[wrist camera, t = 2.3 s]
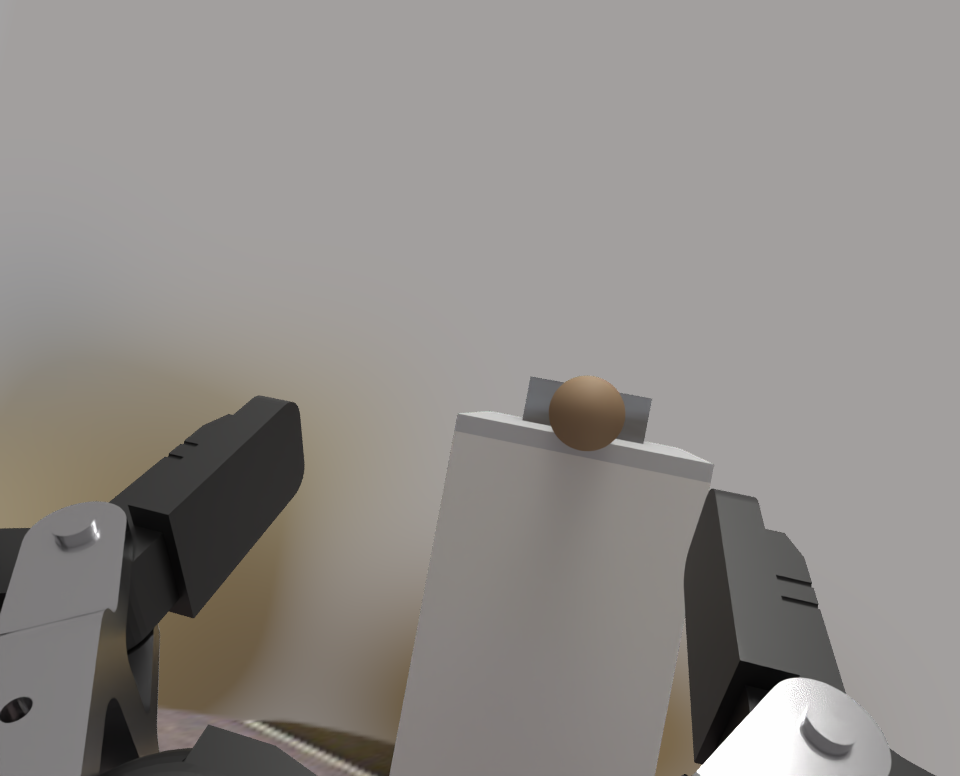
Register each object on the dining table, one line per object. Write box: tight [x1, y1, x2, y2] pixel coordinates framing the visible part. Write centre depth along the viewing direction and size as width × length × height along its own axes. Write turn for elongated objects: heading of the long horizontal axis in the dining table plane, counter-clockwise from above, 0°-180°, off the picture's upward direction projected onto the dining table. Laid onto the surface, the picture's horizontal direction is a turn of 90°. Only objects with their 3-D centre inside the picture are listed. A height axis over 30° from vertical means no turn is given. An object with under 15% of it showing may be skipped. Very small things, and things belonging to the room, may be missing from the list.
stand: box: [390, 411, 714, 776], centre depth 39 cm, size 14×12×32 cm
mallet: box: [523, 376, 652, 451], centre depth 34 cm, size 21×8×3 cm, turn 170°
